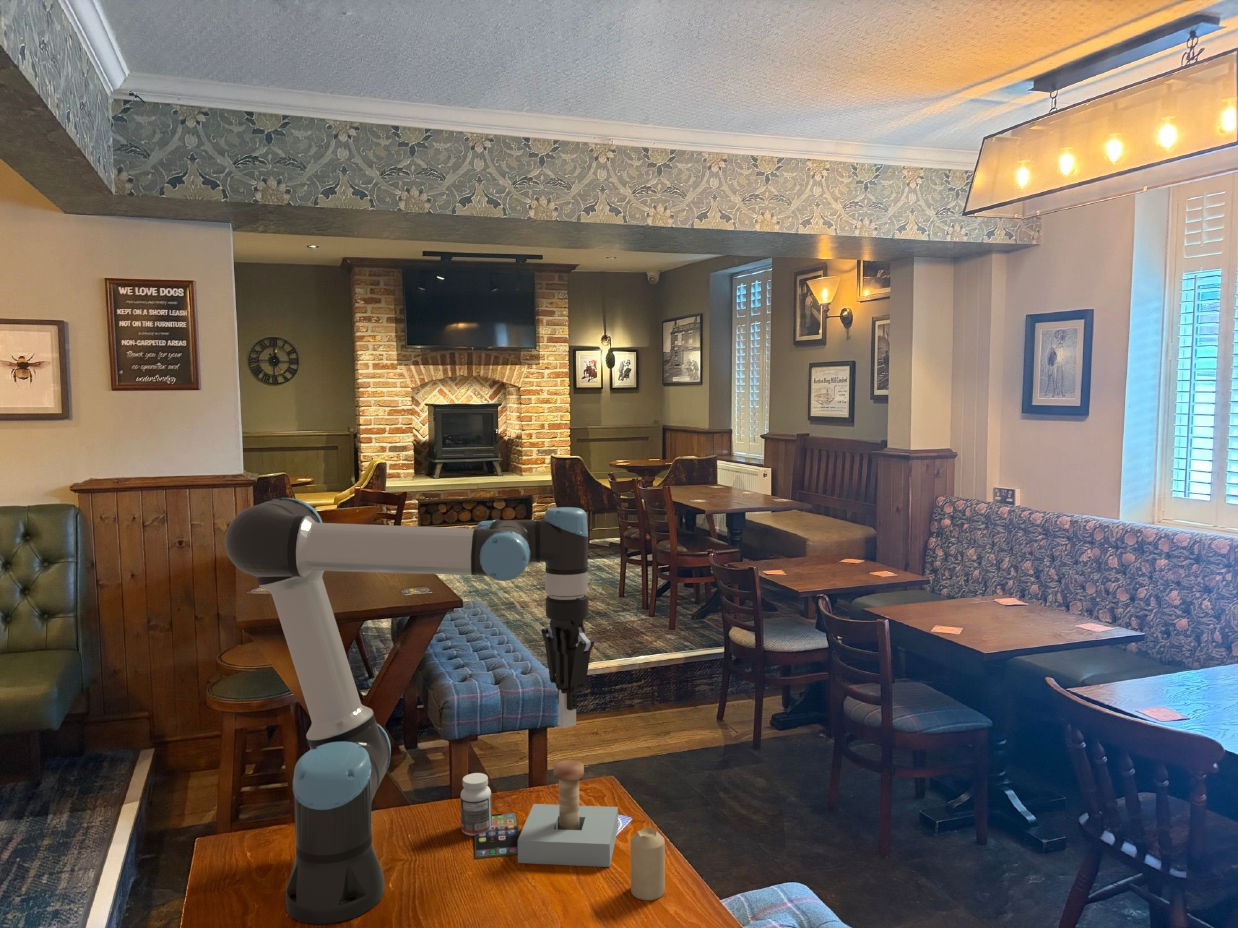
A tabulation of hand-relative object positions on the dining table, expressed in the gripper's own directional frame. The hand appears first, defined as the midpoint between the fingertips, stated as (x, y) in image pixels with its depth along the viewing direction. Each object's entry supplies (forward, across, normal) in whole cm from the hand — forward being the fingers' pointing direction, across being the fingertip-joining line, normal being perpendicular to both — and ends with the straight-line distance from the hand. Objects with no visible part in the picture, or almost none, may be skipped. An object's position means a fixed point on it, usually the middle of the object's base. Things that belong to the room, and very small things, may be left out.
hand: (567, 725), depth 154 cm
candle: (+22, -21, -1) cm, 30 cm away
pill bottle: (+22, +16, +10) cm, 29 cm away
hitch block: (+22, 0, 0) cm, 22 cm away
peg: (+22, 0, 0) cm, 22 cm away
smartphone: (+23, +11, +8) cm, 27 cm away
